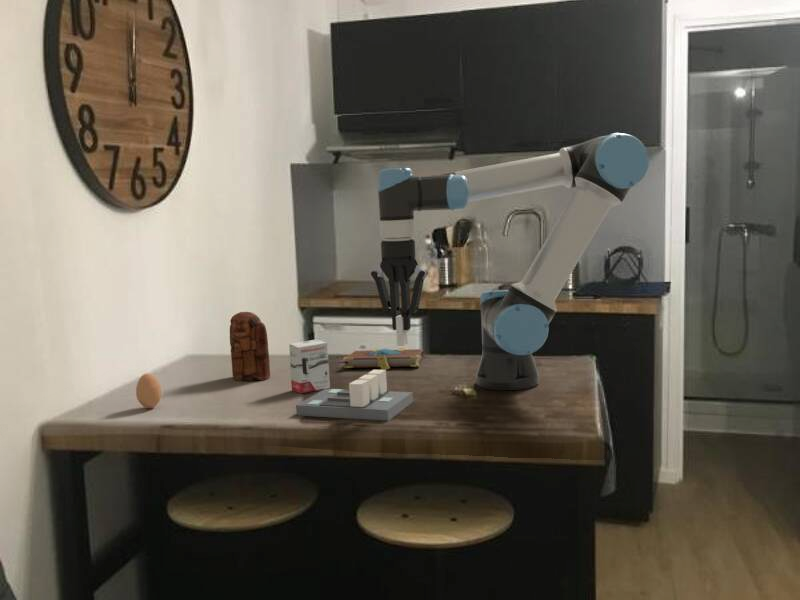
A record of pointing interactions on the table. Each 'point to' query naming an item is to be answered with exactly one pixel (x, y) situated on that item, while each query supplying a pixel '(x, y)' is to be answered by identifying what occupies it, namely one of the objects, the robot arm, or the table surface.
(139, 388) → the egg
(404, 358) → the book
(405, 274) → the robot arm
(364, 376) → the tab
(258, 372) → the wooden figurine
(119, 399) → the table surface
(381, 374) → the tab
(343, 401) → the switch bank
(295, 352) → the ink box
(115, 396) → the table surface
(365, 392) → the tab
